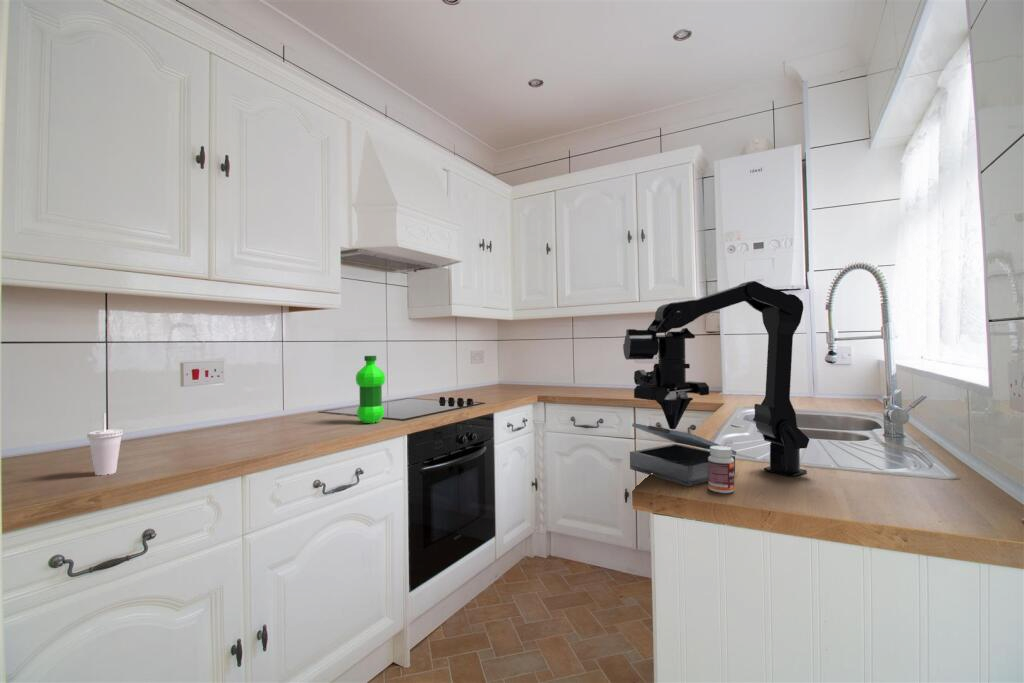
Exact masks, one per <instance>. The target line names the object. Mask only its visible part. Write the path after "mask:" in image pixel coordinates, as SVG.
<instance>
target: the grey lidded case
mask: <svg viewBox="0 0 1024 683" xmlns="http://www.w3.org/2000/svg"><path fill="white" fill-rule="evenodd" d="M709 456H711V454H710V450H709V449H704V448H699V447H695V446H690V445H685V444H681V443H672V444H671V443H670V444H666V445H660V446H655V447H654V446H653V447H649V448H644V449H638V450H633V451H629V469H630V470H632V471H636V472H639V473H642V474H645V475H649V476H652V477H655V478H659V479H662V480H666V481H669V482H672V483H676V484H679V485H683V486H686V487H691V486H695V485H698V484H703V483H706V482H707V483H708V457H709ZM731 457H732V458H733V459H734V476H735V475H736V455H732V456H731ZM651 473H653V474H652V475H651Z"/></svg>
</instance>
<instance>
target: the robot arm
mask: <svg viewBox="0 0 1024 683" xmlns="http://www.w3.org/2000/svg"><path fill="white" fill-rule="evenodd" d="M743 302H745V303H746V304H748V305H749V306H750V307H751V308H753V309H754V310H755V311H758V312H759V313H761V316H762V324H763V326H764V328H765V330H766V332H767V334H768V335H767V336H768V337H767V338H768V339H767V358H766V359H767V361H766V376H765V377H766V379H765V395H764V399H763V400H762V402H761V404H759V403H755V404H754V405H753V406H754V417H753V419H752V421H753V422H755V426H756V429H757V430H758V431H759V433H761V435H762V438H763V440H764V441H765V442H769V466H767V467H763V470H764V471H765V472H770V473H774V474H778V475H783V476H787V477H795V476H800V475H803V474H806V473H808V470H807V469H802V468H801V465H800V464H801V463H800V462H801V461H800V460H801V459H800V458H801V457H800V452H801V451H800V449H807V448H808V445H809V442H810V438H809V437H808V436H807V435H806V434H805V433H804V432H803V431H802V430H801V429H800V428H799V427H798V421H797V413H796V410H795V409H794V406H793V404H792V401H791V381H792V378H791V377H792V362H793V359H792V357H793V339H794V334H795V333H796V331H797V329H798V327H799V326H800V324H801V321H802V316H803V312H804V302H803V300H801V299H800V298H799V296H797V295H796V294H792V293H788V294H787V293H785V292H784V291H781V290H779V289H775V288H771V287H768V286H766V285H764V284H762V283H760V282H758V281H756V280H755V281H754V280H751V281H747V282H741V283H739V285H736V286H733V287H730V288H728V289H727V288H726V289H724V290H721V291H717V292H714V293H712V294H709V295H706V296H702V297H699V298H696V299H688V300H682V301H680V300H679V301H674V302H670V303H665V304H662V305H660V306H658V307H657V309H656V311H655V314H654V315H655V316H654V319H653V321H652V322H651V323H650V324H649V326H648V327H647V329H636V328H635V329H634V328H628V329H626V330H625V338H624V342H623V344H622V345H623V346H622V348H623V356H624V358H625V360H653V359H654V357H655V356H658V363H654V364H653V370H651V371H646V370H644V369H638V370H635V371H634V374H633V375H634V376H633V380H634V384H635V385H636V386H635V387H634V389H633V398H634V399H638V400H639V399H640V400H647V401H656V403H657V404H658V405H659V406H660V407H661V409H662V411H663V414H664V418H665V420H666V422H667V426H668V429H669V430H676V429H677V427H678V425H679V423H680V421H681V419H682V417H683V415H684V413H685V411H686V410H687V408H688V407H689V405H690V403H691V401H693V399H694V398H693V397H689V394H697V395H699V396H709V395H710V387H709V385H708V384H707V382H705V381H704V382H703V381H690V380H689V381H686V379H687V378H686V376H687V375H686V374H687V373H686V369H690V368H691V367H690V366H691V365H690V363H686V339H695V338H696V335H694V334H693V333H692V332H691V331H690V330H689V329H688V327H685V326H687V325H688V324H690V323H692V322H694V321H695V320H697V319H698V318H700V317H701V316H703V315H706V314H709V313H712V312H715V311H717V310H722V309H725V308H727V307H730V306H733V305H736V304H740V303H743ZM683 327H684V328H683ZM673 329H680V331H671V330H673ZM665 333H666V334H665ZM657 334H665V336H660V335H659V336H657Z"/></svg>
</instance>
